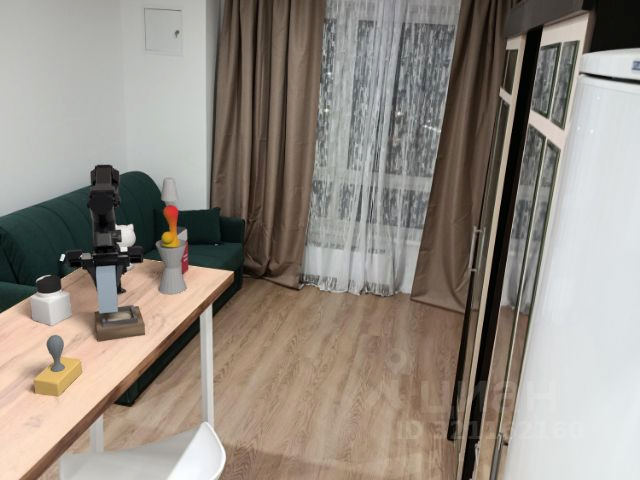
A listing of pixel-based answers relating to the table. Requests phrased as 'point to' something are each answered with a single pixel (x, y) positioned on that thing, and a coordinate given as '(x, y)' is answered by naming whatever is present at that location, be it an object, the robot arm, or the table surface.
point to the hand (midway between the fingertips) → (106, 287)
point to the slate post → (107, 289)
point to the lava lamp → (171, 245)
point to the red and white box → (184, 261)
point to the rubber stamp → (57, 370)
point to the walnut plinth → (119, 323)
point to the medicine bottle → (50, 301)
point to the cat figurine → (126, 239)
